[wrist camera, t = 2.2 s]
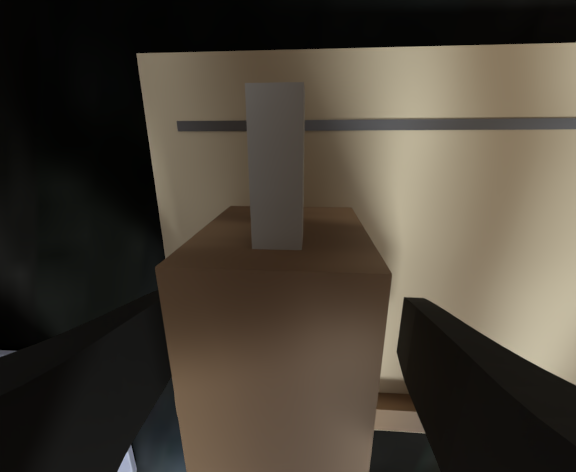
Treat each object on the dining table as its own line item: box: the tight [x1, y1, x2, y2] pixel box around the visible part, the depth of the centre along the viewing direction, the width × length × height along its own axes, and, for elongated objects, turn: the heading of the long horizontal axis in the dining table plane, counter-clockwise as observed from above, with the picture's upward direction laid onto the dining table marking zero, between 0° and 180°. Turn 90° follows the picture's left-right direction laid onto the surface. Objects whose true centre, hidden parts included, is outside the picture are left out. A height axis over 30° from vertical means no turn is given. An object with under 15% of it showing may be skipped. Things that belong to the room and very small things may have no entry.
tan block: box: [155, 82, 392, 472], centre depth 8 cm, size 4×10×5 cm, turn 0°
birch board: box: [136, 43, 576, 433], centre depth 10 cm, size 20×14×4 cm
